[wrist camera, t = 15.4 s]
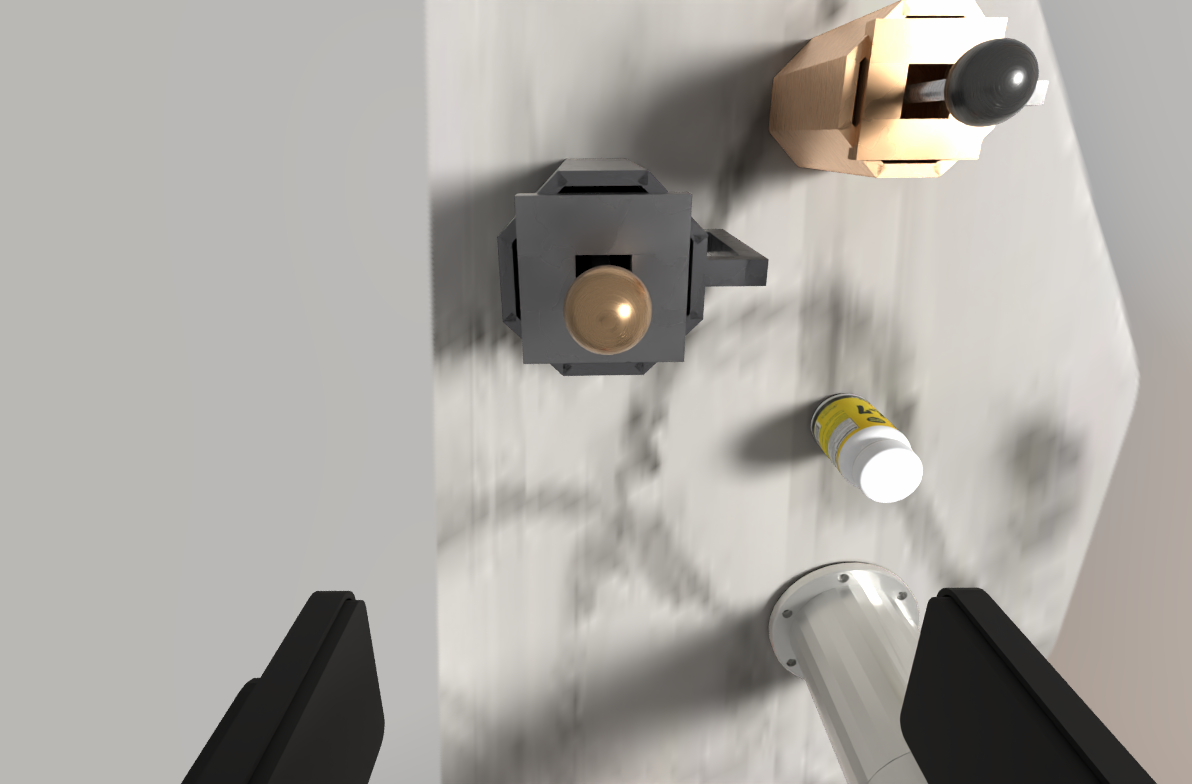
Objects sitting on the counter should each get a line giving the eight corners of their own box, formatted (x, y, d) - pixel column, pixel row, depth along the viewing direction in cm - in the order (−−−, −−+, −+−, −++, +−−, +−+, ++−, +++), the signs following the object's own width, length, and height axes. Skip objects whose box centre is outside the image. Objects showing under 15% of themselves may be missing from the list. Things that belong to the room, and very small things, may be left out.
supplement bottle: (885, 412, 47) (946, 467, 39) (843, 459, 48) (893, 521, 40) (838, 379, 46) (890, 429, 38) (795, 428, 47) (838, 486, 39)
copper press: (939, 37, 37) (1092, -5, 26) (917, 165, 40) (1046, 177, 29) (776, 38, 37) (860, -4, 26) (765, 167, 40) (836, 178, 29)
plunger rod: (621, 207, 40) (658, 274, 20) (621, 258, 41) (655, 366, 22) (571, 208, 40) (560, 276, 20) (572, 259, 41) (562, 367, 22)
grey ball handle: (864, 75, 37) (1069, 31, 21) (856, 130, 38) (1046, 126, 23) (814, 75, 37) (982, 32, 21) (808, 131, 38) (963, 126, 23)
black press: (713, 157, 40) (790, 169, 25) (705, 296, 43) (768, 379, 28) (524, 159, 39) (490, 172, 25) (531, 298, 43) (504, 382, 28)
